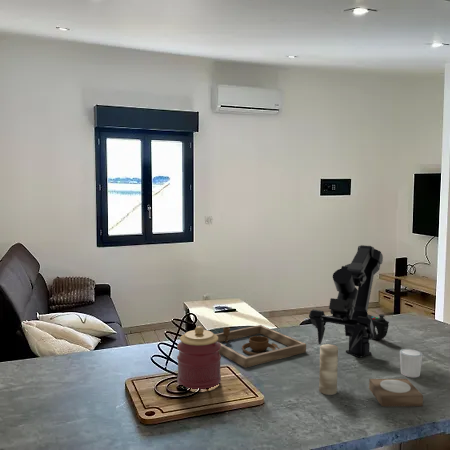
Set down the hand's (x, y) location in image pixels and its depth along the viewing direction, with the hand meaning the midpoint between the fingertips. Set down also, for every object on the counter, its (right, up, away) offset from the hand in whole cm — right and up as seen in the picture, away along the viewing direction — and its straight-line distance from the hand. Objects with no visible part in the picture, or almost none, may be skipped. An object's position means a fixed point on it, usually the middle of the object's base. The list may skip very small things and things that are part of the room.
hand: (334, 346), depth 142 cm
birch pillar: (-3, -12, -3) cm, 13 cm away
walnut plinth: (+15, -12, -7) cm, 21 cm away
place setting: (-22, -9, +33) cm, 41 cm away
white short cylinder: (+26, -11, +9) cm, 30 cm away
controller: (+25, -8, +43) cm, 51 cm away
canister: (-40, -12, +1) cm, 42 cm away
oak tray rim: (-22, -9, +32) cm, 39 cm away
